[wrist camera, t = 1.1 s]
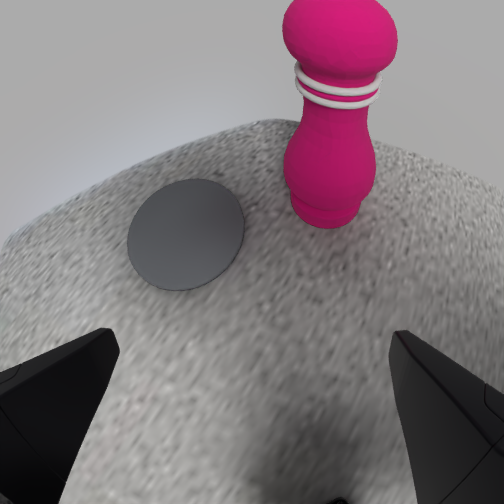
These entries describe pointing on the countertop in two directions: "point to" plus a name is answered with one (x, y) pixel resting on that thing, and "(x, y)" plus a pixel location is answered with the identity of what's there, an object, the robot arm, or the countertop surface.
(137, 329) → the countertop surface
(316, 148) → the pepper mill
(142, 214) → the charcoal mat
